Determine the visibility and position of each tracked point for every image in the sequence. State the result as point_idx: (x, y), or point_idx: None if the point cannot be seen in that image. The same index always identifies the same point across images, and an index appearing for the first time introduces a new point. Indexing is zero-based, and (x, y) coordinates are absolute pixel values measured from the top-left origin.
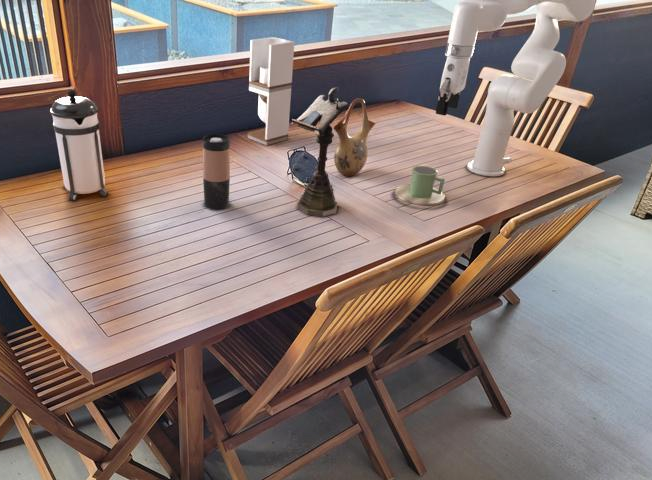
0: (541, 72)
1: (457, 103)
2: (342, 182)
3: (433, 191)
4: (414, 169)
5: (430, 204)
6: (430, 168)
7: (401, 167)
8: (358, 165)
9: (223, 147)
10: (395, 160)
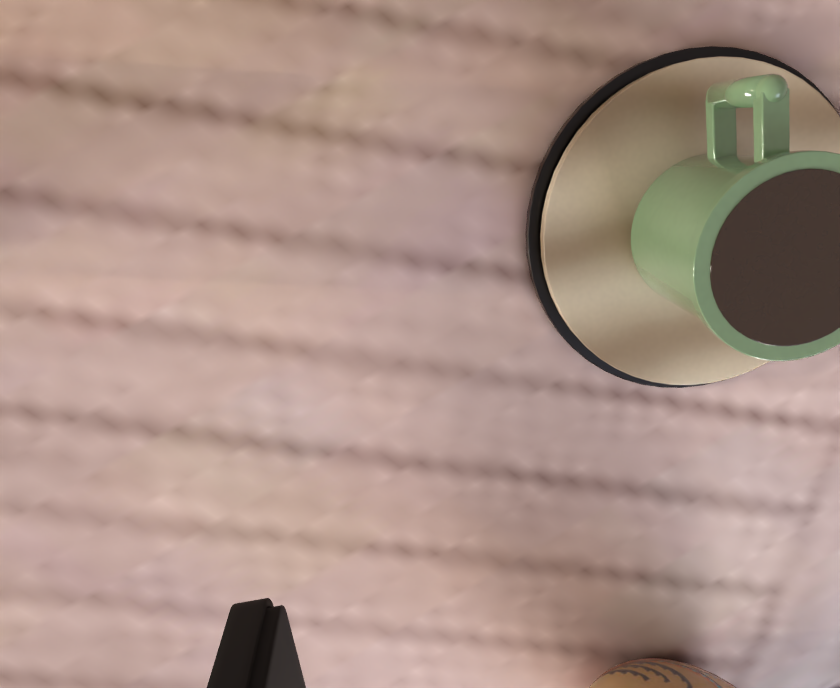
0: None
1: (249, 664)
2: (778, 636)
3: (733, 138)
4: (838, 327)
5: (813, 90)
6: (729, 250)
7: (310, 566)
8: (706, 683)
9: None
10: None
